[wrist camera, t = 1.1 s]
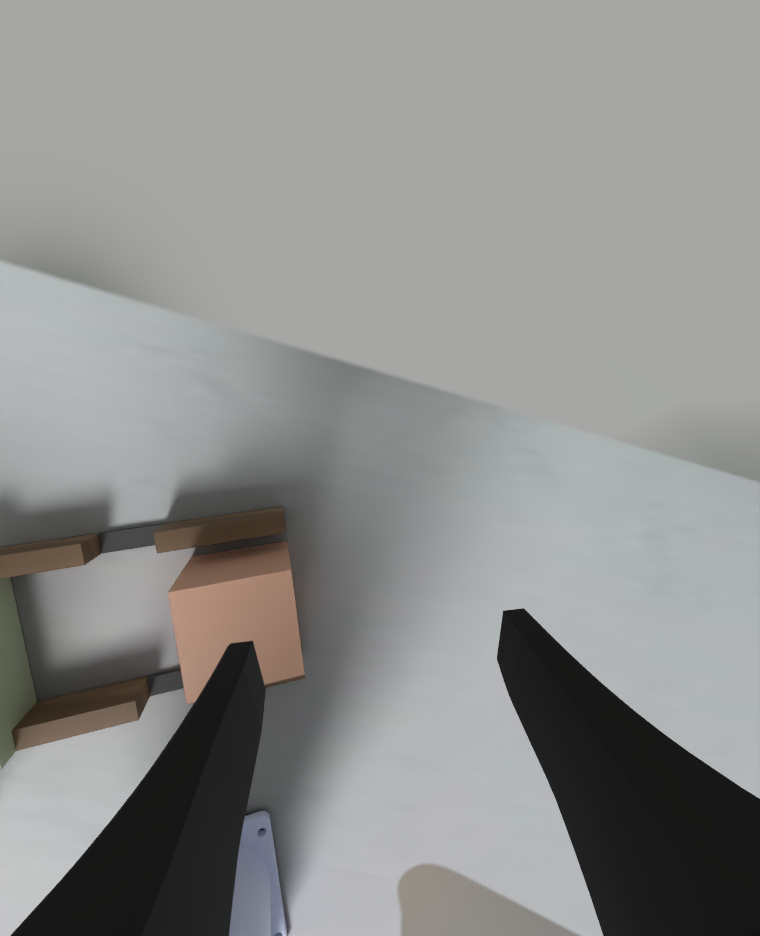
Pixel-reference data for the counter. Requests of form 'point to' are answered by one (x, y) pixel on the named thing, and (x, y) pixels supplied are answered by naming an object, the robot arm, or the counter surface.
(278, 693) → the counter surface
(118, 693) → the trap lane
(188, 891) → the robot arm
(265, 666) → the terracotta block
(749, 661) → the counter surface
